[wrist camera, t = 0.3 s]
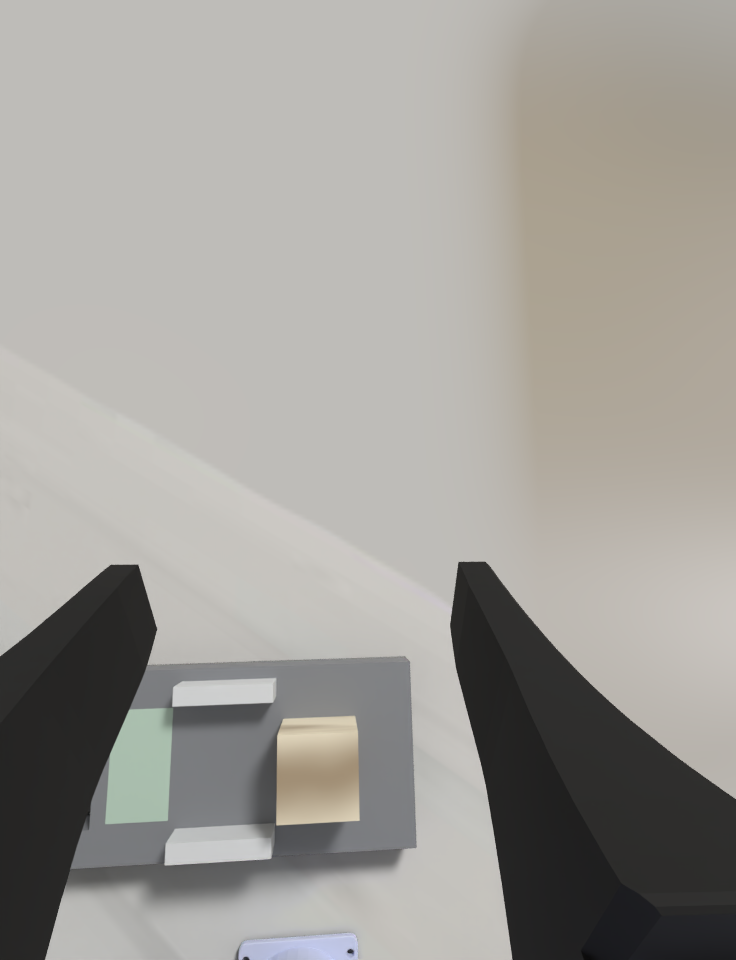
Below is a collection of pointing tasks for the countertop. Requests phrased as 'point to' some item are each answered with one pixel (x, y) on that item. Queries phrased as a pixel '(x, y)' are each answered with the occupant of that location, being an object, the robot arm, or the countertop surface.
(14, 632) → the countertop surface
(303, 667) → the grey long flat tray
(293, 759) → the block
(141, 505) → the countertop surface
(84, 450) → the countertop surface
